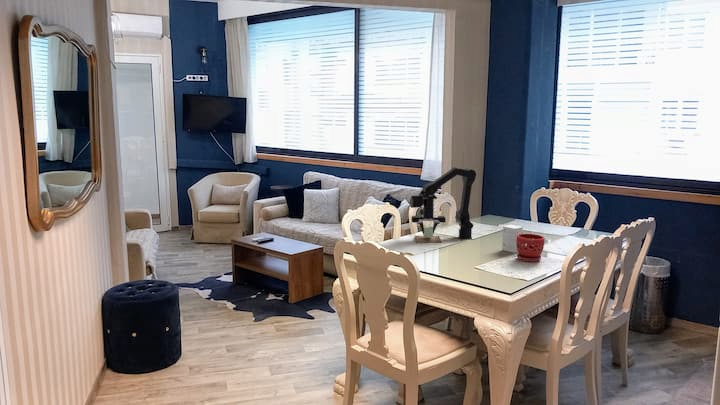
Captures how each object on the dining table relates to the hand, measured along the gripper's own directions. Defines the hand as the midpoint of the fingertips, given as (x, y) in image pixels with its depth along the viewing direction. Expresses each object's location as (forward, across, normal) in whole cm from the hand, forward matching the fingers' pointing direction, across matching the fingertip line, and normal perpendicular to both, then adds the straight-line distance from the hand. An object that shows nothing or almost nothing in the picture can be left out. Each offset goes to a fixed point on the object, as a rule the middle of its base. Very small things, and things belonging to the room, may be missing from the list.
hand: (428, 234), depth 314 cm
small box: (+4, -42, +22) cm, 48 cm away
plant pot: (+4, -47, +38) cm, 61 cm away
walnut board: (+4, 0, 0) cm, 4 cm away
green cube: (+1, 0, 0) cm, 1 cm away
